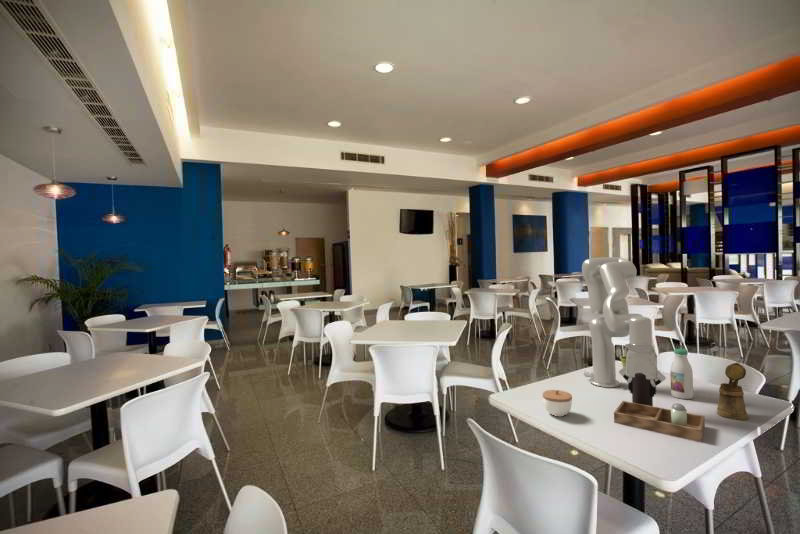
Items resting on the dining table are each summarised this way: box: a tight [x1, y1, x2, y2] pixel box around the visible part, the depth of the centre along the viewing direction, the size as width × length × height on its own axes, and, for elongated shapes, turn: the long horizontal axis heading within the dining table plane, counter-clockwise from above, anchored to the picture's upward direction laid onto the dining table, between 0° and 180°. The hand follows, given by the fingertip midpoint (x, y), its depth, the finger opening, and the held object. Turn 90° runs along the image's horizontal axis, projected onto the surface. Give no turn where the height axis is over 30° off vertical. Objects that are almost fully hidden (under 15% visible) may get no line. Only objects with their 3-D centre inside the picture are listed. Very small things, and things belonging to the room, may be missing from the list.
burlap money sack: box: [716, 362, 749, 421], centre depth 145 cm, size 9×14×18 cm, turn 127°
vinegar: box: [631, 372, 654, 407], centre depth 151 cm, size 7×7×20 cm
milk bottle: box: [669, 348, 694, 400], centre depth 164 cm, size 8×8×20 cm
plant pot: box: [619, 355, 627, 374], centre depth 195 cm, size 9×9×9 cm
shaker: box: [670, 402, 688, 427], centre depth 133 cm, size 4×4×9 cm
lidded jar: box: [542, 389, 573, 417], centre depth 151 cm, size 11×11×9 cm
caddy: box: [613, 400, 706, 443], centre depth 137 cm, size 25×14×4 cm, turn 48°
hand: (642, 393), depth 151 cm, fingers closed on vinegar, 6 cm apart
